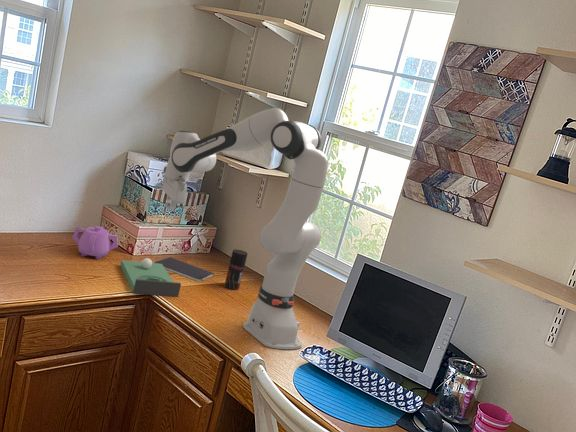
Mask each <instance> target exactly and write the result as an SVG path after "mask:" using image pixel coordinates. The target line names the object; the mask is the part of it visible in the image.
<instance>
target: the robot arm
mask: <svg viewBox="0 0 576 432" xmlns="http://www.w3.org/2000/svg"><path fill="white" fill-rule="evenodd" d="M269 144H271V145H272V147H273V148H274V149H276V151H277V152H279V153H280V154H282V155H283V156H284V157H285V158H286V159H289V160H293V161H294V168H293V171H292V173H291V174H292V175H291V178H290V181H289V185H288V187H287V188H288V189H287V191H286V195H285V198H284V200H283V202H282V204H281V205H280V207H279V209H278V210H277V213H276V214H275V216H274V217H273V218H272V219H271V221H270V222H269V223H267V224H266V225H264V227H263V228H262V229H261V232H260V236H259V237H260V244H261V246H262V247H263V249H264V251H267V252H268V253H270V254H273V255H274V254H275V256H274V258H273V259H272V260H270V262H269V263H268V264H267V266H266V269H265V272H264V276H263V279H262V280H263V281H262V285H260V287H259V290H258V293H257V297H258V298H257V299H256V301H255V302H253V303H252V306H251V308H250V311H249V314H248V317H247V319H246V321H245V322H244V323H243V324H242V328H244V329H245V331H247V332H248V333H249V334H250V335H252V337H254V338H255V339H256V340H257V341H259V342H260V343H261V344H262V345H263V346H264V347H268V348H271V349H279V350H297V349H300V348H302V346H303V345H302V342H301V341H300V339H299V337H298V332H299V328H300V322H299V321H297V320H296V313H295V312H294V308H293V307H294V305H295V304H294V303H296V302H295V294H294V292H295V289H296V285H297V281H298V280H299V279H298V278H299V275H300V273H301V270H302V268H303V267H304V266H305V263H306V261H307V259H308V258H309V256H310V254H312V252H313V251H314V249H316V248H317V247H319V246H318V245H319V244H320V241H321V238H322V237H321V236H322V235H321V231H320V229H319V227H318V226H317V225H316V224H315V223H314V222H313V223H312V222H310V221H308V219H309V218H310V217H311V215H312V214H314V213H315V212H316V211H317V209H318V207H319V204H320V200H321V197H322V193H323V191H324V187H325V183H326V180H327V175H328V169H329V158H328V156H327V154H325V152H323V151H321V150H320V147H321V145H322V135H321V133H320V132H319V130H318V128H316V127H315V126H313V125H311V124H308V123H304V122H301V121H296V120H295V121H293V120H292V121H291V120H289V118H288V115H287V114H286V113H285V111H284V110H283V109H281V108H279V107H278V108H277V107H272V108H268V109H264V110H262V111H259V112H256V113H254V114H251V115H250V116H248V117H246V118H244V119H243V120H241V121H239V122H237V123H235V124H233V125H231V126H228V127H227V128H225V129H222V130H220V131H217V132H215V133H213V134H210V135H208V136H206V137H203V138H200V137H199V135H198V134H197V133H196V132H194V131H190V130H189V131H187V130H178V131H176V133H175V134H174V136H173V138H172V141H171V145H170V149H169V159H168V161H167V164H166V166H164V167H163V179H162V187H161V189H162V191H163V192H164V194H166V195H167V196H166V205H165V206H166V208H168V211H170V212H174V211H175V209H176V206H177V205H178V204H180V205H183V204H185V201H186V196H187V191H188V190H187V189H188V184H187V183H186V182H187V181H189V180H190V176H191V173H195V172H196V173H197V172H198V173H199V172H201V173H204V172H205V173H206V172H210V171H212V170H213V169H214V168H215V167H216V164H217V162H218V161H217V159H218V156H217V154H218V153H222V152H228V151H230V152H231V151H238V152H239V151H241V152H243V151H246V152H248V151H254V150H258V149H259V148H262V147H265V146H267V145H269Z"/></svg>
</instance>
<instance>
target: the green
mask: <svg viewBox="0 0 576 432" xmlns="http://www.w3.org/2000/svg"><path fill="white" fill-rule="evenodd" d="M141 262H142V261H139V260H138V261H136V260H127V259H126V260H125V259H121V260H120V264H119V266H121V267H120V269H121V271H122V273H123V275H124V277H125V280H127V283H128V286H129V287H130V289H131V292H132V293H133V295H148V296H149V295H150V296H160V297H161V296H162V297H175V298H178V297H179V295H180V291H181V286H182V283H181V282H176V281H174V280H173V278H172V277H171V275H170V274H169V272H168V270H166V269H165V268H164V266H163V265H162V264H158V263H155V262H152V266H151V267H150V268H148V269H145V268H143V267H142V265H141Z"/></svg>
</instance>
